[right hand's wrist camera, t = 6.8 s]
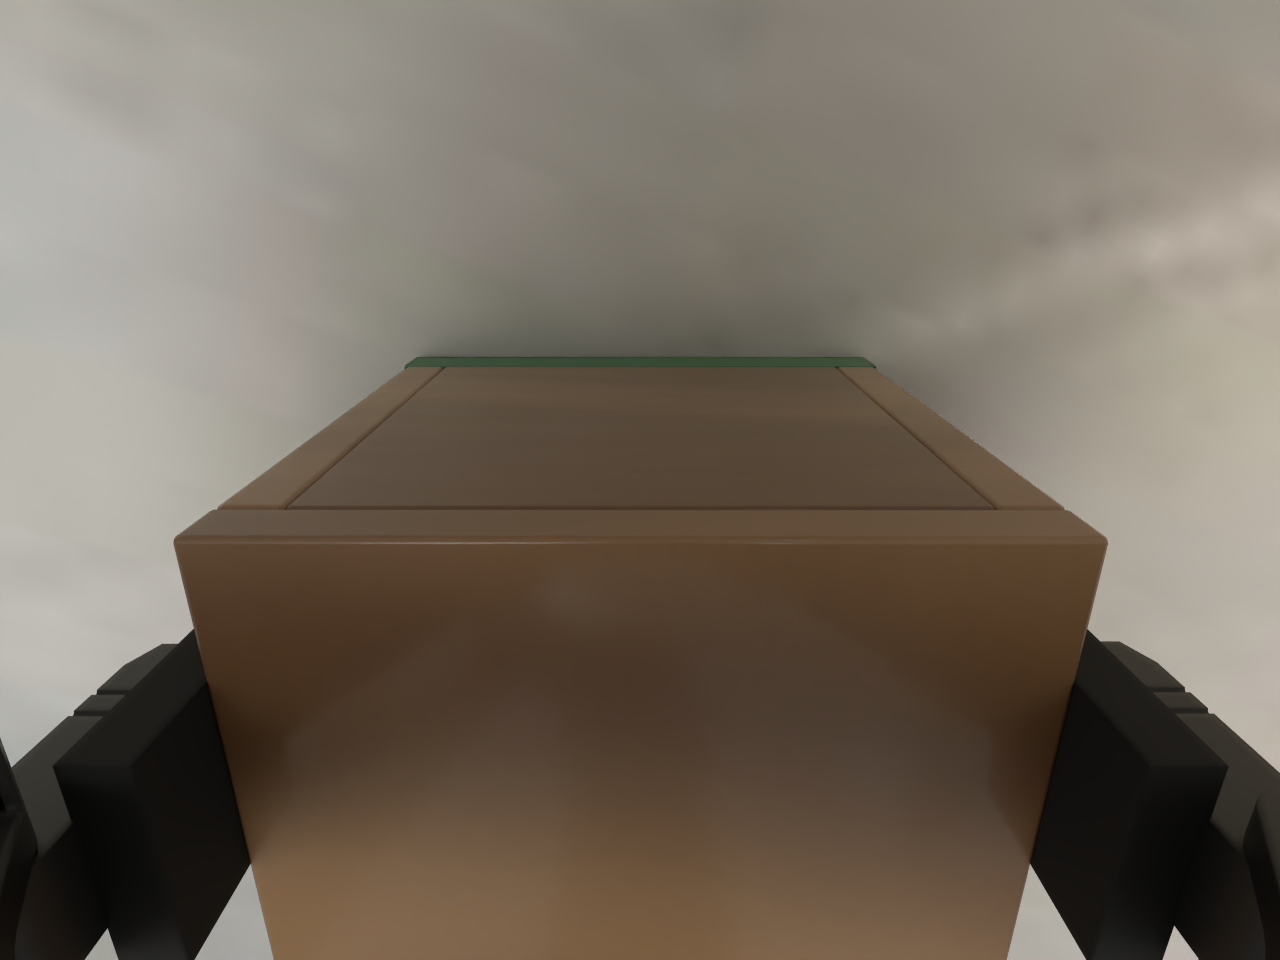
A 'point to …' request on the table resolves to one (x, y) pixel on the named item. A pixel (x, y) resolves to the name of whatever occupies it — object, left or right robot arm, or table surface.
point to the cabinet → (640, 667)
